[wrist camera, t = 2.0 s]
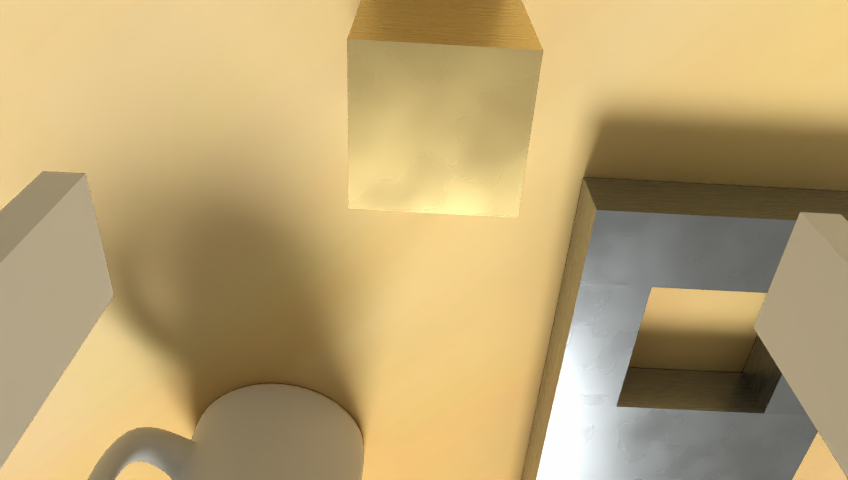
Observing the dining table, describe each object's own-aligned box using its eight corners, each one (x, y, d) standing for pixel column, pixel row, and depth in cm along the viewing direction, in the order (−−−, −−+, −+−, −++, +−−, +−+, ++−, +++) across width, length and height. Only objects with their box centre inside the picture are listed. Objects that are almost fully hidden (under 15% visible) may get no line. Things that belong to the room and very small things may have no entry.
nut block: (372, -34, 22) (347, 39, 16) (510, -26, 22) (543, 50, 16) (371, 97, 25) (348, 208, 18) (494, 104, 25) (517, 217, 18)
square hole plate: (583, 177, 26) (596, 209, 24) (888, 193, 27) (927, 227, 25) (503, 565, 40) (507, 607, 38) (703, 574, 41) (718, 616, 39)
